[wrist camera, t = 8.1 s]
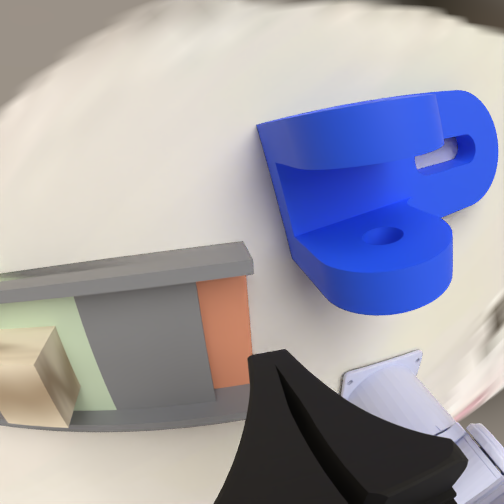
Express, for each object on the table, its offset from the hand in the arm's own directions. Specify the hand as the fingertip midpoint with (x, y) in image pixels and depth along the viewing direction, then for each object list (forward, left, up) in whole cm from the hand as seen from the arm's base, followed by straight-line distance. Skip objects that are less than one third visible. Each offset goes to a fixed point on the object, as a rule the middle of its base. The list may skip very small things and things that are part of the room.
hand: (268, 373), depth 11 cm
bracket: (+6, -12, -10) cm, 17 cm away
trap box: (-4, +13, -9) cm, 16 cm away
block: (-4, +14, -8) cm, 17 cm away
